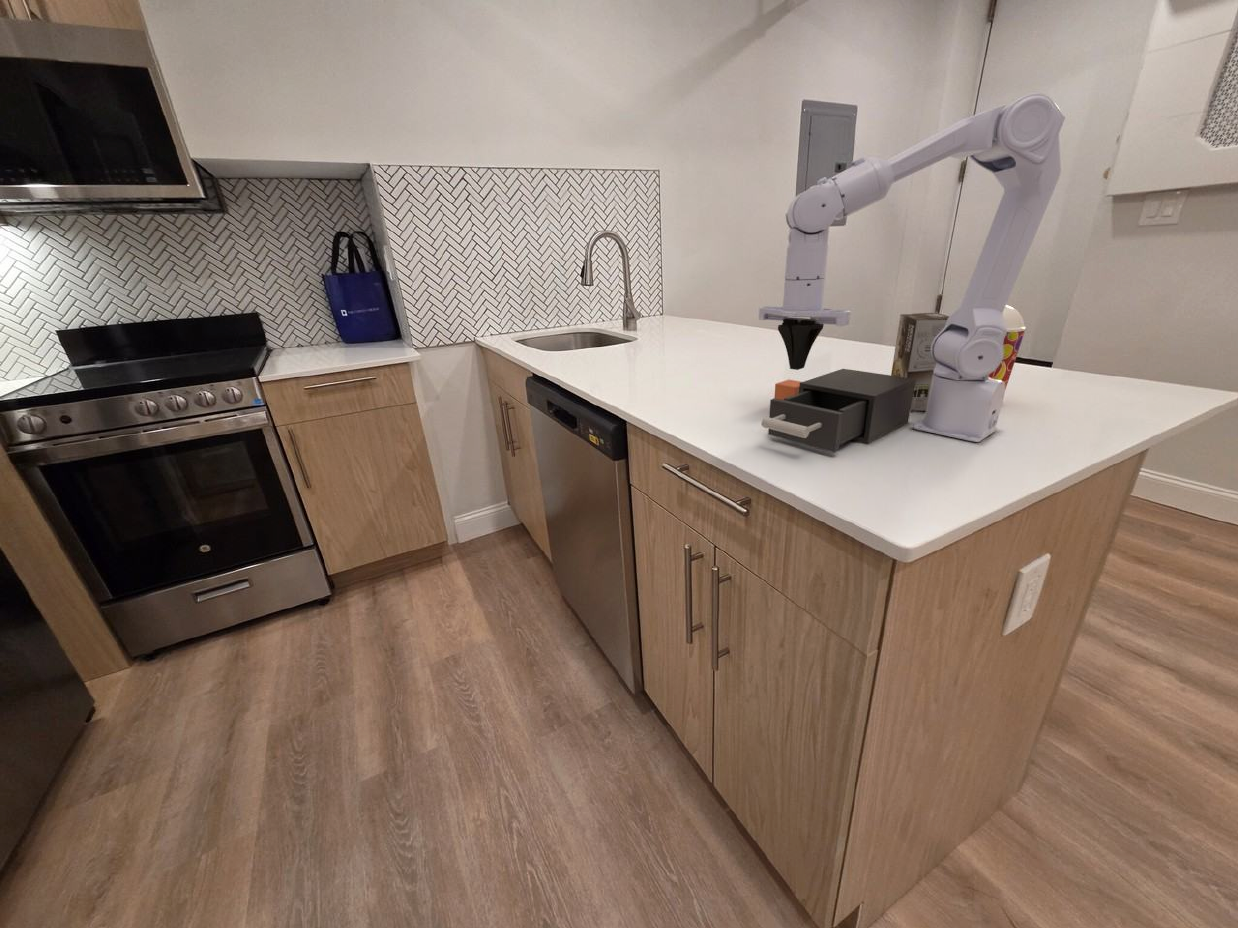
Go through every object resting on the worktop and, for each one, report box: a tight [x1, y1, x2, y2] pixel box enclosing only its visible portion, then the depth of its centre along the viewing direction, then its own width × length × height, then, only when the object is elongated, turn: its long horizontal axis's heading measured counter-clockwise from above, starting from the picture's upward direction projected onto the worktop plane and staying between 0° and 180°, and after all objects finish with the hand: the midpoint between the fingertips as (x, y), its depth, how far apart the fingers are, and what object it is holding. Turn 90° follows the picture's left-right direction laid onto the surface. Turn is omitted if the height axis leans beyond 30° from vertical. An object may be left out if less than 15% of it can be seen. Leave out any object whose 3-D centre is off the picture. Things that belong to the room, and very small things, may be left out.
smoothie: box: [989, 304, 1027, 391], centre depth 89 cm, size 8×8×20 cm
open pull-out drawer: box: [761, 390, 869, 453], centre depth 78 cm, size 18×11×6 cm, turn 129°
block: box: [773, 379, 802, 400], centre depth 97 cm, size 4×4×4 cm
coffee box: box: [890, 312, 951, 412], centre depth 91 cm, size 9×6×16 cm
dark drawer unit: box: [799, 368, 916, 445], centre depth 84 cm, size 14×13×8 cm
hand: (797, 368), depth 81 cm, fingers closed
